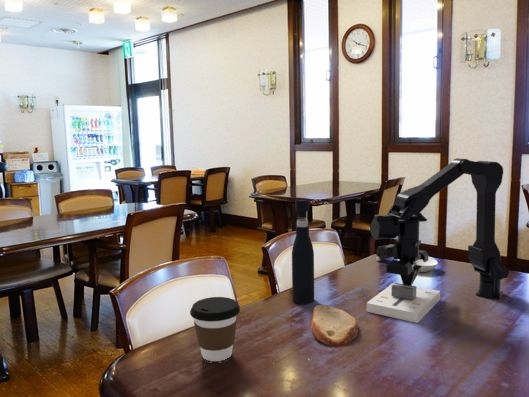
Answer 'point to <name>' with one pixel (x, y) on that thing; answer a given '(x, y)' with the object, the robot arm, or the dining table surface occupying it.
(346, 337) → the slice of bread
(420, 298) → the console
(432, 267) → the spoon rest
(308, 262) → the black bottle
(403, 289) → the fader
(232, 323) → the coffee cup
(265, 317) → the dining table surface
